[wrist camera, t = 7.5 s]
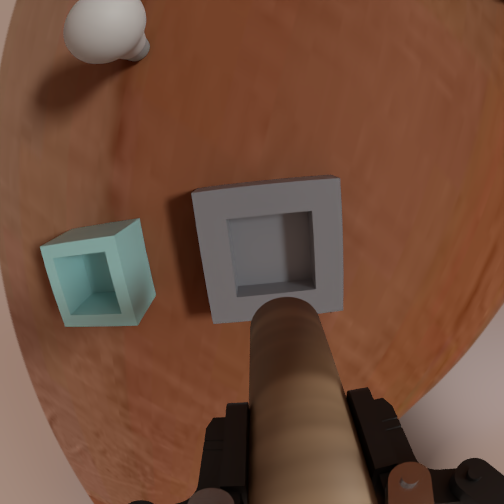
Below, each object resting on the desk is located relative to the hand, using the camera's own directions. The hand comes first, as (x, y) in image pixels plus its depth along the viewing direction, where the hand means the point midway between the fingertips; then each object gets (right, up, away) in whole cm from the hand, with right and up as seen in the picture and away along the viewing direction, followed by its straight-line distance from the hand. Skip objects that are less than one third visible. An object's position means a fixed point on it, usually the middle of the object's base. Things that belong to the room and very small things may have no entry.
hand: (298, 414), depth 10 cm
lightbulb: (-12, +24, +14) cm, 30 cm away
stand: (0, +6, +19) cm, 20 cm away
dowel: (0, +2, +6) cm, 6 cm away
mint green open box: (-16, +5, +20) cm, 26 cm away
